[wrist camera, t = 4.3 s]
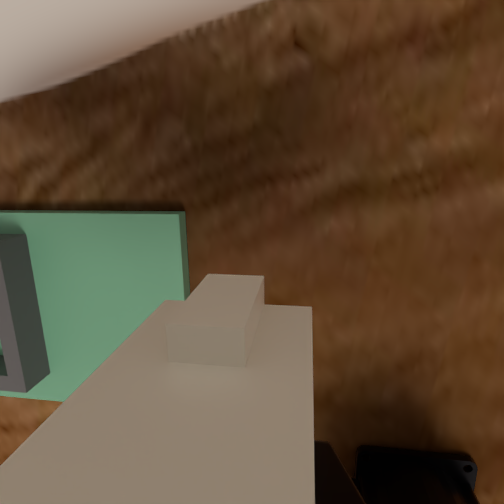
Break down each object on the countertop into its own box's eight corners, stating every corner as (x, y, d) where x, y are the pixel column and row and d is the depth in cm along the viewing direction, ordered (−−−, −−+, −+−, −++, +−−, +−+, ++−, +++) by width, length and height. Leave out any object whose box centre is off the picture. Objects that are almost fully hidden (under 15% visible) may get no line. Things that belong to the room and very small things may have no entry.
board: (185, 211, 20) (164, 220, 17) (196, 402, 23) (180, 438, 20) (-96, 209, 22) (-156, 217, 20) (-53, 380, 25) (-99, 409, 23)
